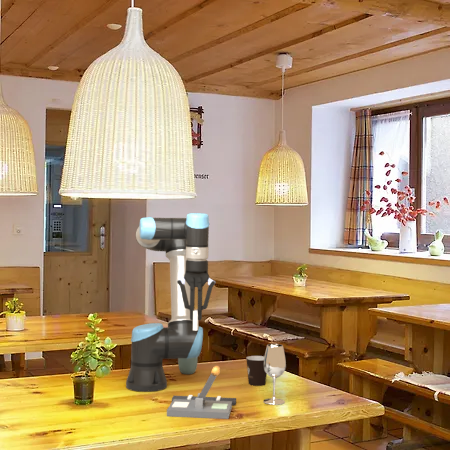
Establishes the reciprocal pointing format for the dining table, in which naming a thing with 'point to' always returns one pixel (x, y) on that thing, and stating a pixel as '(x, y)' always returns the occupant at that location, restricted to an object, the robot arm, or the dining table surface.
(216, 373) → the breaker lever
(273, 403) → the wineglass
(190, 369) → the cup
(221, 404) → the breaker panel
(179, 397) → the dressed cords
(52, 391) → the dining table surface
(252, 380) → the coffee mug
